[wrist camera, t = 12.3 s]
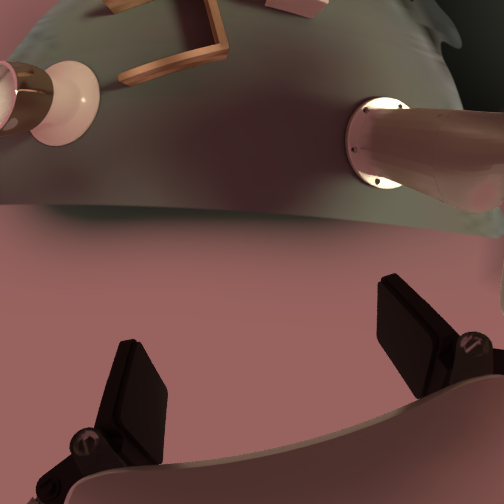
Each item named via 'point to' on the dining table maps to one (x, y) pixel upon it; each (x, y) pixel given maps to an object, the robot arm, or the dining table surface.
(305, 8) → the pale pink cube
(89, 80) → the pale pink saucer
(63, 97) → the beer glass
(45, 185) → the dining table surface
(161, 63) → the wooden u-shaped bracket
